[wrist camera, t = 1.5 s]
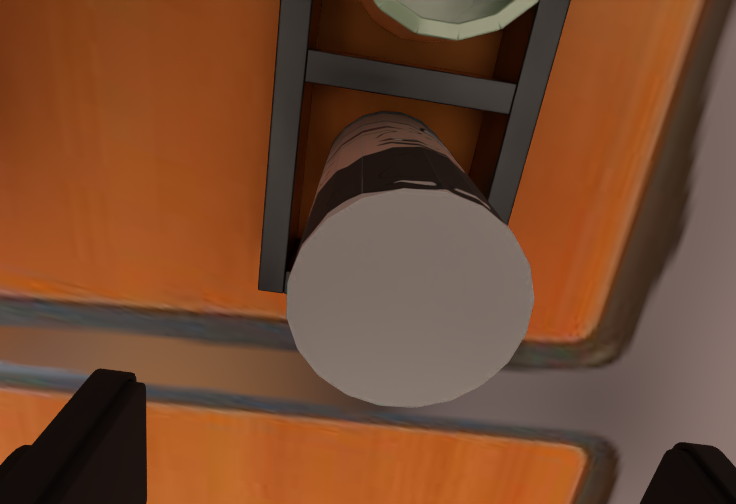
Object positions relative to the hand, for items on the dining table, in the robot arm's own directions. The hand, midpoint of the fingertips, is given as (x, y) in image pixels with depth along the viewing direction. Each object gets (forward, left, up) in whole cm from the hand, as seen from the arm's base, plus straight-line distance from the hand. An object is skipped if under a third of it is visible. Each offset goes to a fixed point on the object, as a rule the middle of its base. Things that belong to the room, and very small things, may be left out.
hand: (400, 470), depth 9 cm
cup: (-1, 0, -20) cm, 20 cm away
